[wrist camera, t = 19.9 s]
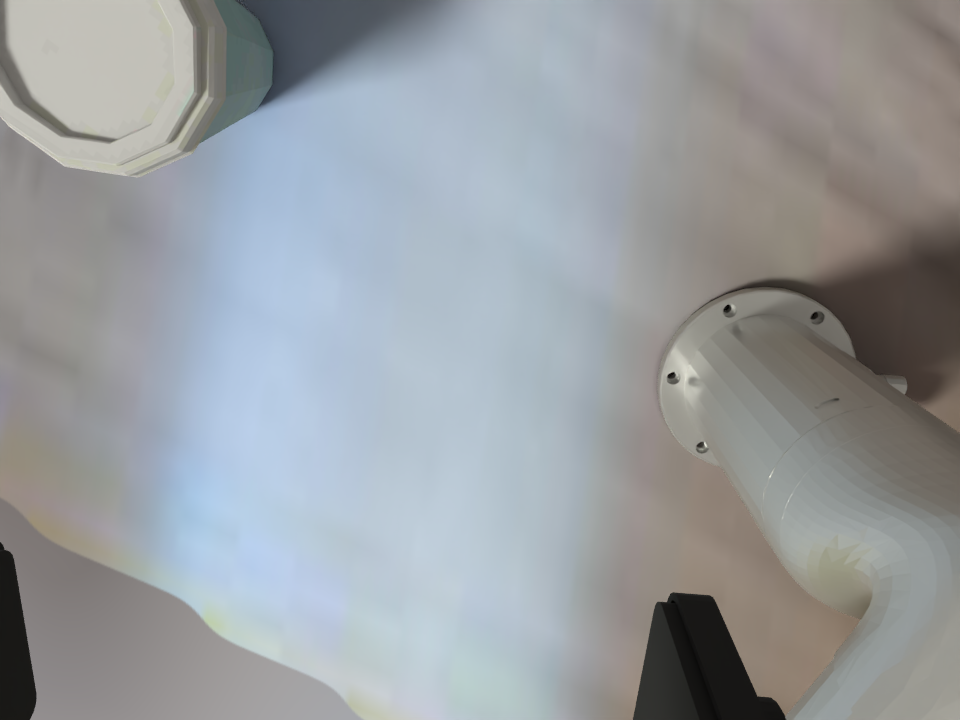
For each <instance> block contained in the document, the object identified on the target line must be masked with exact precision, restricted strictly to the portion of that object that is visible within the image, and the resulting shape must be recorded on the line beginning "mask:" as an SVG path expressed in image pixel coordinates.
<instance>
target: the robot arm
mask: <svg viewBox="0 0 960 720" xmlns="http://www.w3.org/2000/svg"><path fill="white" fill-rule="evenodd" d="M726 305H729V309H728V310H727V311H723V309H724V307H725V306H726ZM814 312H815V315H814V316H813V317H811V315H812V314H813V313H814ZM810 317H811V318H810ZM671 372H674V375H673V376H671V377H669V376H668V374H670V373H671ZM906 391H907V381H906V379H905V378H904V376H896V375H883V374H880V375H876V374H874V373H873V372H872V371H871V370H870V369H869V368H867V367H866V366H865V365H863V364H862V363H860V362H859V361H857V360H856V355H855V351H854V348H853V345H852V342H851V339H850V336H849V335H848V333H847V331H846V330H845V328H844V326H843V325H842V323H841V322H840V321H839V320H838V319H837V318H836V317H835V316H834V315H833V314H832V312H831V311H830V310H828V309H827V308H825V307H824V306H822V305H821V304H820V303H818V302H817V301H815V300H813V299H811V298H809V297H807V296H805V295H803V294H801V293H798V292H794V291H791V290H787V289H784V288H773V287H758V288H748V289H743V290H739V291H736V292H732V293H729V294H726V295H723V296H721V297H719V298H717V299H715V300H713V301H711V302H709V303H707V304H706V305H705V306H703V307H702V308H700V309H699V310H698V311H696V312H695V313H694V314H692V315H691V316H690V317H689V318H688V319H687V320H686V321H685V322H684V323H683V324H682V325H681V326H680V328H679V329H678V330H677V332H676V333H675V335H674V336H673V338H672V339H671V341H670V342H669V344H668V346H667V348H666V350H665V353H664V355H663V357H662V360H661V364H660V368H659V373H658V386H657V394H658V399H659V404H660V409H661V412H662V414H663V416H664V419H665V421H666V423H667V425H668V427H669V429H670V430H671V432H672V434H673V435H674V437H675V438H676V439H677V440H678V441H679V442H680V444H681V445H682V446H683V447H684V448H685V449H686V450H688V451H689V452H690V453H691V454H693V455H694V456H695V457H697V458H699V459H701V460H703V461H705V462H707V463H709V464H712V465H714V466H718V467H721V468H722V470H723V471H724V473H725V474H726V476H727V478H728V479H729V481H730V482H731V484H732V486H733V487H734V489H735V490H736V492H737V494H738V495H739V497H740V498H741V500H742V502H743V503H744V505H745V506H746V508H747V510H748V511H749V513H750V514H751V516H752V518H753V519H754V521H755V522H756V524H757V526H758V527H759V529H760V531H761V532H762V534H763V535H764V537H765V539H766V540H767V542H768V543H769V545H770V547H771V548H772V550H773V551H774V552H775V554H776V555H777V557H778V559H779V560H780V562H781V563H782V565H783V566H784V568H785V569H786V570H787V571H788V573H789V574H790V575H791V577H792V578H793V579H794V580H795V581H796V582H797V583H798V584H799V585H800V586H801V587H802V588H803V589H804V590H805V591H806V592H808V593H809V594H810V595H811V596H813V597H814V598H816V599H817V600H819V601H820V602H822V603H824V604H825V605H827V606H829V607H831V608H833V609H835V610H837V611H839V612H841V613H843V614H846V615H849V616H852V617H855V618H858V619H861V620H860V622H859V623H858V625H857V626H856V628H855V629H854V630H853V632H852V633H851V634H850V635H849V636H848V638H847V639H846V640H845V641H844V642H843V644H842V645H841V646H840V647H839V649H838V650H837V651H836V653H835V655H834V659H833V660H832V661H831V662H830V664H829V665H828V666H827V667H826V668H825V670H824V671H823V672H822V673H821V674H820V676H819V677H818V678H817V679H816V680H815V682H814V683H813V684H812V685H811V686H810V688H809V689H808V690H807V691H806V692H805V694H804V695H803V696H802V697H801V698H800V700H799V701H798V702H797V703H796V704H795V706H794V707H793V708H792V709H791V710H790V712H789V713H788V714H787V715H786V716H784V713H783V712H782V710H781V708H780V707H779V705H778V703H777V702H776V701H774V700H773V699H772V698H769V697H757V695H756V692H755V690H754V688H753V685H752V683H751V681H750V679H749V676H748V674H747V672H746V670H745V667H744V665H743V663H742V661H741V658H740V656H739V654H738V652H737V649H736V647H735V645H734V642H733V640H732V638H731V636H730V633H729V631H728V629H727V627H726V624H725V622H724V620H723V618H722V615H721V613H720V611H719V609H718V606H717V604H716V602H715V600H714V599H713V597H711V596H710V595H697V594H685V593H671V594H670V596H669V598H668V601H667V602H657V603H656V605H655V609H654V613H653V618H652V624H651V629H650V634H649V639H648V644H647V650H646V655H645V660H644V665H643V670H642V675H641V681H640V686H639V691H638V696H637V701H636V707H635V712H634V717H633V720H960V433H959V432H957V431H956V430H955V429H953V428H952V427H950V426H949V425H947V424H946V423H944V422H943V421H942V420H940V419H938V418H937V417H936V416H934V415H933V414H931V413H930V412H928V411H927V410H926V409H924V408H923V407H921V406H920V405H919V404H917V403H916V402H914V401H913V400H911V399H910V398H909V397H907V396H906V395H905V393H906ZM700 442H702V443H701V444H699V445H697V444H698V443H700ZM35 705H36V689H35V683H34V676H33V670H32V664H31V659H30V653H29V647H28V641H27V635H26V629H25V623H24V617H23V611H22V605H21V599H20V593H19V587H18V581H17V575H16V569H15V564H14V559H13V555H12V554H11V553H10V552H9V551H6V550H4V547H3V545H2V544H1V542H0V720H30V718H31V716H32V714H33V712H34V708H35Z"/></svg>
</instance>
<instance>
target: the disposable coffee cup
mask: <svg viewBox="0 0 960 720" xmlns="http://www.w3.org/2000/svg"><path fill="white" fill-rule="evenodd" d="M272 77H273V50H272V48H271V45H270V43H269V41H268V39H267V37H266V34H265V32H264V30H263V28H262V26H261V24H260V21H259V20H258V19H257V18H256V17H255V16H254V15H252V14H251V13H250V12H249V11H248V10H246V9H245V8H244V7H243V6H242V5H240V4H239V3H238V2H237V1H236V0H0V117H1V119H2V120H4V121H5V122H6V123H7V125H8V126H9V127H11V128H12V129H13V130H15V131H16V132H17V133H19V134H20V135H22V136H23V137H24V138H26V139H27V140H29V141H30V142H31V143H33V144H34V145H36V146H37V147H38V148H40V149H41V150H43V151H44V152H45V153H47V154H48V155H50V156H51V157H52V158H54V159H55V160H57V161H58V162H59V163H61V164H62V165H63V166H65V167H71V168H77V169H84V170H90V171H97V172H104V173H110V174H117V175H124V176H132V177H141V176H143V175H146V174H148V173H150V172H152V171H155V170H157V169H159V168H161V167H163V166H166V165H168V164H170V163H172V162H175V161H177V160H179V159H181V158H184V157H186V156H188V155H190V154H193V152H194V151H195V149H196V148H197V146H198V144H199V143H201V142H203V141H205V140H206V139H208V138H210V137H211V136H213V135H215V134H217V133H218V132H220V131H222V130H223V129H225V128H227V127H229V126H230V125H232V124H234V123H235V122H237V121H239V120H241V119H242V118H244V117H246V116H248V115H249V114H251V113H253V112H254V111H256V110H257V108H258V107H259V105H260V104H261V102H262V100H263V99H264V97H265V96H266V94H267V92H268V91H269V89H270V88H271V86H272Z"/></svg>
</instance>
